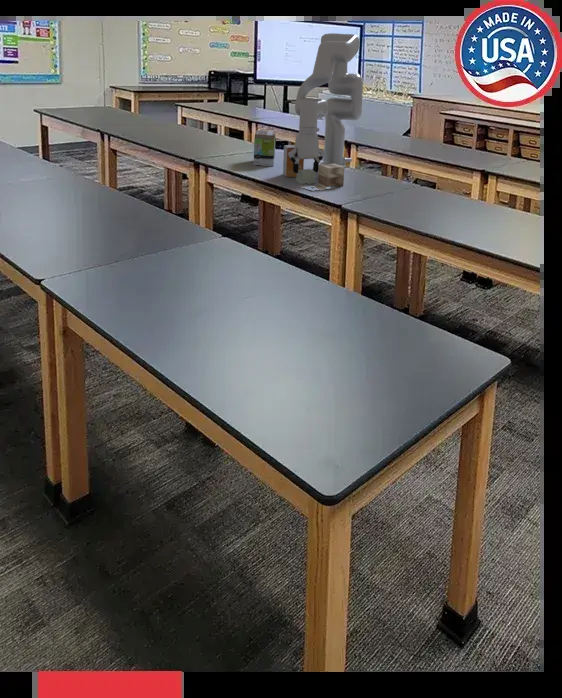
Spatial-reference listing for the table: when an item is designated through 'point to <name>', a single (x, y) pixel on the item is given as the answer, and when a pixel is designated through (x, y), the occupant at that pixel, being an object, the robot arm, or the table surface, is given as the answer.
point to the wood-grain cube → (331, 175)
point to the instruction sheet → (317, 187)
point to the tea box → (264, 148)
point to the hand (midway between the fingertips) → (305, 172)
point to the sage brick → (305, 176)
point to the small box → (290, 162)
